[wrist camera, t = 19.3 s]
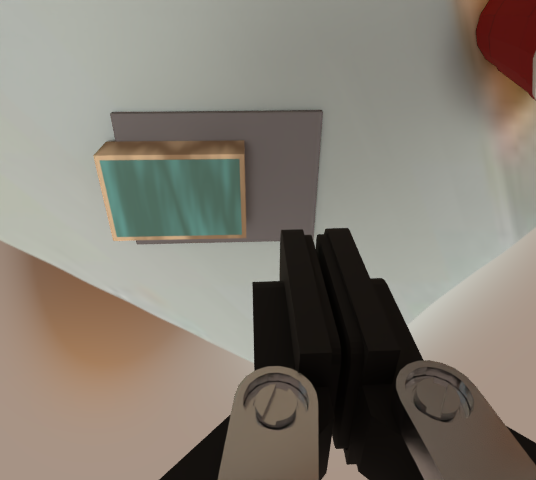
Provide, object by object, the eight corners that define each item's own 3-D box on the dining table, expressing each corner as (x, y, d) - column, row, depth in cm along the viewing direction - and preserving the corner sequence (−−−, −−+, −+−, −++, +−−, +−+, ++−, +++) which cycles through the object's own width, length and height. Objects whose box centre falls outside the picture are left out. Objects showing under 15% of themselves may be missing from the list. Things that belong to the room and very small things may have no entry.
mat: (321, 110, 35) (322, 112, 34) (312, 237, 42) (313, 240, 41) (112, 112, 34) (110, 114, 33) (138, 241, 41) (136, 244, 40)
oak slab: (244, 154, 32) (93, 155, 32) (246, 238, 36) (113, 240, 36) (244, 140, 35) (106, 141, 35) (246, 219, 39) (123, 221, 39)
